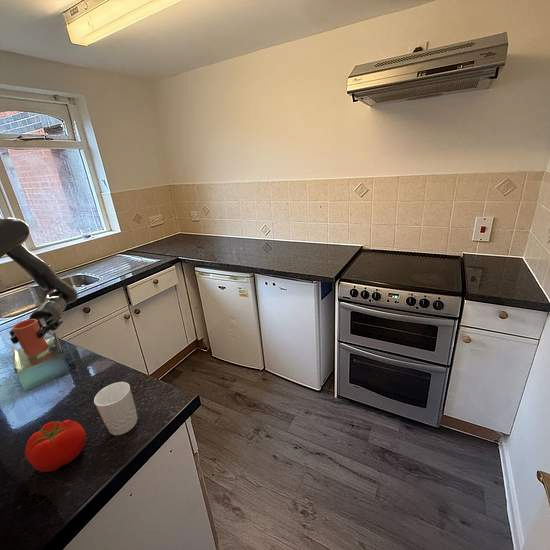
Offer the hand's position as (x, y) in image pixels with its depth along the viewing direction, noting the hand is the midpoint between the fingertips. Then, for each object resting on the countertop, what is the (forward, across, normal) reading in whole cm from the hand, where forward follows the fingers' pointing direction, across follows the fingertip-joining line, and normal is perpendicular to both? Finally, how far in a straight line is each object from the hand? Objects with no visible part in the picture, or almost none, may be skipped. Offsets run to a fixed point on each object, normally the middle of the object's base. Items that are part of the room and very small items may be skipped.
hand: (26, 338), depth 93 cm
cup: (-2, 0, +6) cm, 6 cm away
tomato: (+39, +17, +14) cm, 45 cm away
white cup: (+34, +29, +14) cm, 47 cm away
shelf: (-2, 0, +14) cm, 14 cm away
